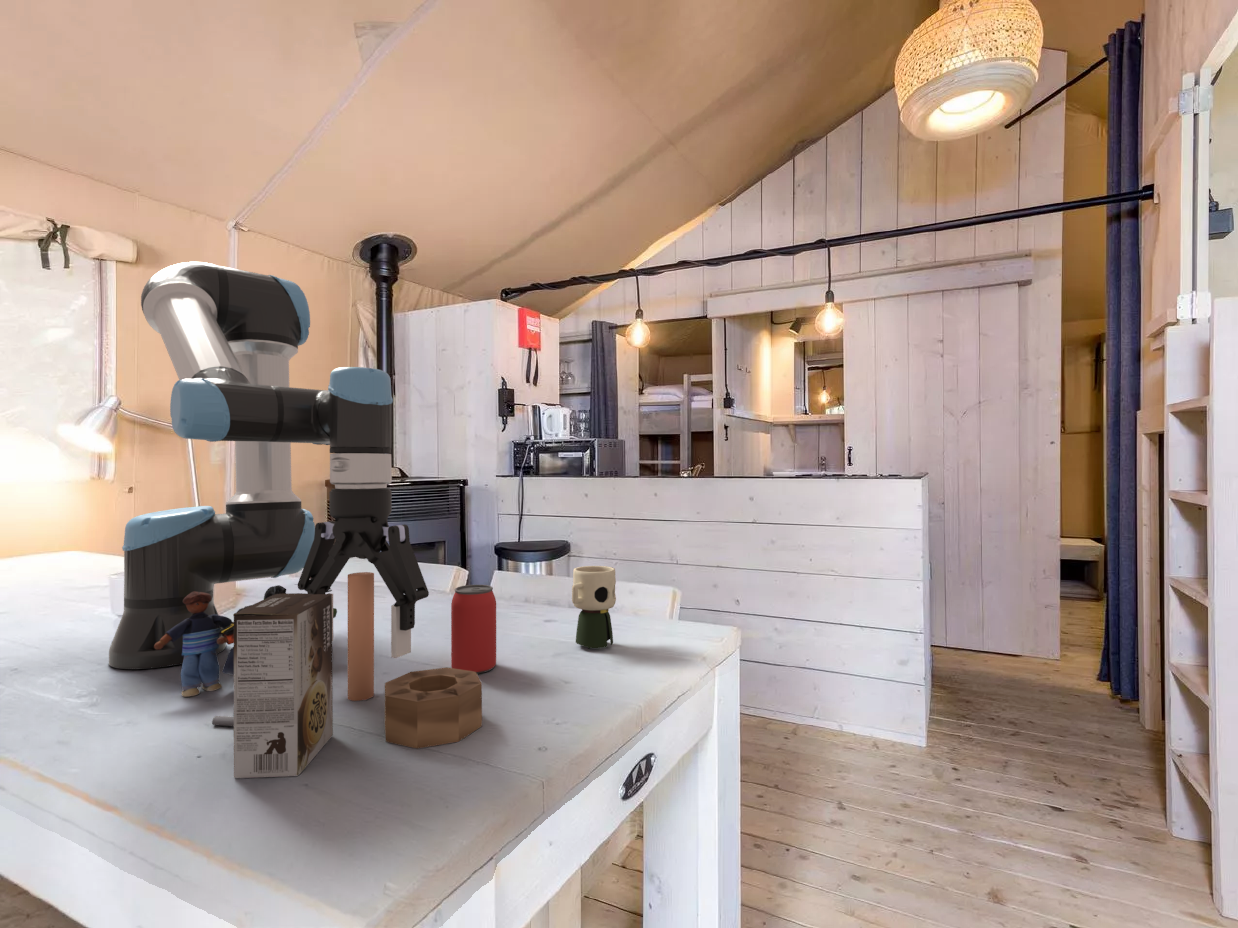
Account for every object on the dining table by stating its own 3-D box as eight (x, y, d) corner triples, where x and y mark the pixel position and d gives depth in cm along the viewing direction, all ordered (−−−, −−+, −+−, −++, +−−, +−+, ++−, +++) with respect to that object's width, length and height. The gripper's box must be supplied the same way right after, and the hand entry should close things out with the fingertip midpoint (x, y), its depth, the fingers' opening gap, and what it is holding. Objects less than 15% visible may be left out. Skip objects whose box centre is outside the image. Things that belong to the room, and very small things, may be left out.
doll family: (195, 711, 76) (195, 603, 76) (147, 701, 79) (147, 597, 79) (341, 657, 98) (341, 572, 98) (298, 651, 101) (299, 569, 101)
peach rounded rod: (341, 698, 80) (342, 575, 80) (360, 690, 83) (361, 571, 83) (360, 702, 79) (360, 577, 79) (379, 693, 82) (379, 573, 82)
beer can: (485, 677, 88) (485, 593, 88) (442, 674, 89) (442, 591, 89) (503, 662, 94) (503, 584, 95) (463, 660, 96) (463, 583, 96)
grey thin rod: (211, 726, 71) (212, 717, 71) (218, 722, 72) (218, 714, 72) (295, 731, 70) (295, 722, 70) (301, 727, 71) (301, 718, 71)
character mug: (590, 658, 97) (590, 575, 97) (556, 650, 101) (556, 571, 101) (630, 642, 105) (630, 566, 105) (598, 635, 110) (598, 562, 110)
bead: (364, 736, 68) (364, 691, 69) (427, 703, 78) (427, 664, 78) (440, 753, 65) (440, 705, 65) (496, 716, 74) (496, 674, 74)
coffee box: (274, 738, 68) (274, 592, 68) (334, 736, 69) (334, 591, 69) (229, 780, 59) (230, 612, 59) (299, 777, 60) (299, 610, 60)
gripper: (268, 486, 82) (268, 646, 82) (416, 488, 73) (416, 669, 73) (315, 484, 89) (315, 632, 89) (456, 486, 80) (456, 651, 80)
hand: (360, 649), depth 81 cm, fingers open, 13 cm apart
